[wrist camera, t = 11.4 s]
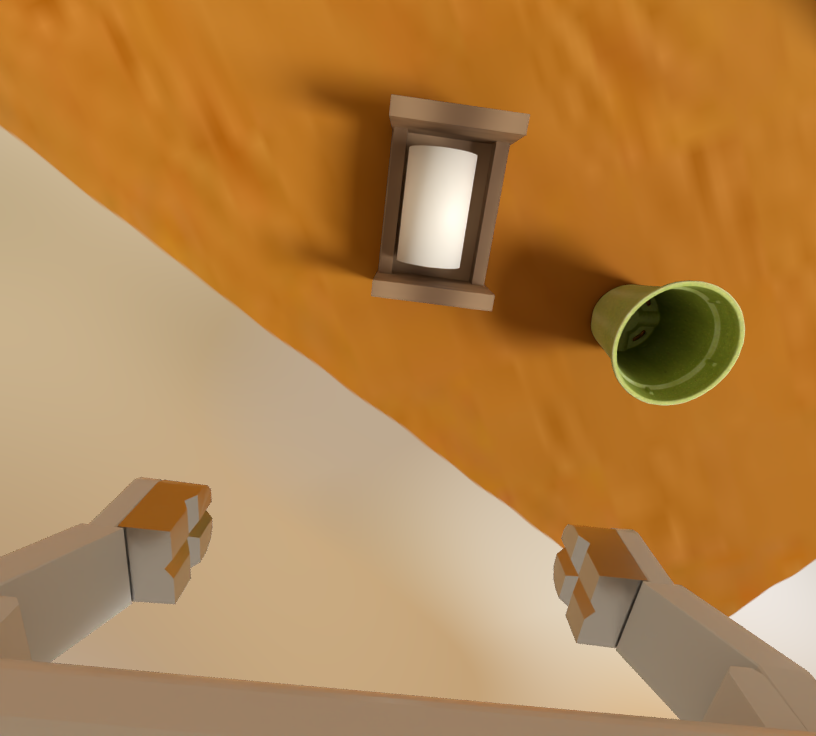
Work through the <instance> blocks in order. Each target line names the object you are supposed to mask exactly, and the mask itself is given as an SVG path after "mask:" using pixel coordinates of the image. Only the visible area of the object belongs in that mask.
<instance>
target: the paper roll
mask: <svg viewBox="0 0 816 736" xmlns="http://www.w3.org/2000/svg"><path fill="white" fill-rule="evenodd" d="M476 163H477V155H476V154H474V153H471V152H467V151H463V150H458V149H453V148H447V147H439V146H425V145H415V146H410V147H409V155H408V163H407V172H406V181H405V190H404V199H403V207H402V216H401V225H400V234H399V243H398V251H397V260H398V261H401V262H404V263H408V264H413V265H419V266H423V267H430V268H444V269H457V268H460V262H461V255H462V249H463V243H464V237H465V231H466V224H467V218H468V212H469V206H470V200H471V194H472V187H473V181H474V175H475V169H476Z"/></svg>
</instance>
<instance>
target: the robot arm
mask: <svg viewBox="0 0 816 736" xmlns="http://www.w3.org/2000/svg"><path fill="white" fill-rule="evenodd" d="M211 502H212V499H211V489H210V488H209V486H208V485H201V484H192V483H185V482H178V481H170V480H161V479H152V478H143V477H140V478H137V479H135V480H133V481H132V482H131V483H130V484H129V486H127V487H126V488H125V489H124V490H123V491H122V492H121V493H120V494H119V495H118V496H117V497H116V498H115V499H114V500H113V501H112V502H111V503H110V504H109V505H108V506H107V507H106V508H105V509H104V510H103V511H102V512H101V513H100V514H99V515H98V516H96V517H95V518H94V519H93V521H92V522H90V523H89V524H79V525H76V526H74V527H71V528H69V529H67V530H64V531H62V532H59V533H57V534H54V535H52V536H50V537H47V538H45V539H43V540H40V541H38V542H35V543H33V544H30V545H28V546H26V547H23V548H21V549H18V550H16V551H13V552H11V553H9V554H6V555H4V556H2V557H0V736H816V680H815V679H814V677H813V676H812V675H811V674H810V673H809V672H807V670H805V669H804V668H802V667H801V666H799V665H798V664H796V663H795V662H793V661H792V660H790V659H789V658H788V657H786V656H785V655H783V654H782V653H780V652H779V651H777V650H776V649H774V648H773V647H771V646H770V645H768V644H767V643H765V642H764V641H763V640H761V639H760V638H758V637H757V636H755V635H754V634H752V633H751V632H749V631H748V630H746V629H745V628H743V627H742V626H740V625H739V624H738V623H736V622H735V621H733V620H732V619H730V618H729V617H727V616H726V615H724V614H723V613H721V612H720V611H718V610H717V609H716V608H714V607H713V606H711V605H710V604H708V603H707V602H705V601H704V600H702V599H701V598H699V597H698V596H696V595H695V594H694V593H692V592H691V591H689V590H688V589H686V588H685V587H683V586H682V585H675V584H674V583H673V582H672V580H671V579H670V578H669V576H668V575H667V573H666V572H665V571H664V569H663V568H662V566H661V565H660V564H659V562H658V561H657V559H656V558H655V556H654V555H653V554H652V552H651V551H650V549H649V548H648V547H647V545H646V544H645V542H644V541H643V540H642V538H641V537H640V535H639V534H638V533H637V532H635V531H634V530H630V529H618V528H610V529H608V528H598V527H589V526H579V525H569V524H568V525H567V526H566V528H565V529H564V532H563V535H562V538H561V539H562V541H563V543H564V545H565V548H564V549H562V550H561V551H560V552H559V553H557V555H556V559H555V563H554V583H555V588H556V591H557V594H558V597H559V598H560V599H561V600H562V601H563V602H564V603H565V604H566V605H567V606H568V609H567V612H566V618H567V620H568V623H569V625H570V628H571V631H572V633H573V636H574V638H575V641H576V643H579V644H587V645H596V646H603V647H611V648H616V651H617V652H618V653H619V654H620V655H621V656H622V657H623V658H624V659H625V661H626V662H627V663H628V664H629V665H630V666H631V667H632V668H633V669H634V670H635V671H636V672H637V673H638V675H639V676H640V677H641V678H642V679H643V680H644V681H645V682H646V683H647V684H648V685H649V686H650V687H651V688H652V690H653V691H654V692H655V693H656V694H657V695H658V696H659V697H660V698H661V699H662V700H663V701H664V702H665V703H666V705H667V706H668V707H669V708H670V709H671V710H672V711H673V712H674V713H675V714H676V715H677V717H678V718H679V719H680V720H677V719H667V718H656V717H644V716H633V715H622V714H610V713H598V712H587V711H577V710H566V709H555V708H545V707H534V706H523V705H512V704H500V703H491V702H479V701H469V700H458V699H447V698H436V697H424V696H414V695H403V694H390V693H380V692H370V691H358V690H348V689H337V688H325V687H314V686H303V685H291V684H281V683H269V682H259V681H248V680H237V679H226V678H215V677H204V676H192V675H181V674H171V673H159V672H149V671H138V670H126V669H115V668H104V667H94V666H83V665H72V664H61V663H50V662H52V661H53V660H54V659H56V658H57V657H59V656H60V655H61V654H63V653H64V652H66V651H67V650H68V649H70V648H71V647H73V646H74V645H75V644H77V643H78V642H79V641H81V640H82V639H84V638H85V637H86V636H88V635H89V634H91V633H92V632H93V631H95V630H96V629H97V628H99V627H100V626H102V625H103V624H104V623H106V622H107V621H109V620H110V619H111V618H113V617H114V616H115V615H117V614H118V613H120V612H121V611H122V610H124V609H125V608H127V607H128V606H129V605H130V604H132V601H134V602H149V603H164V604H176V602H177V600H178V599H179V597H180V595H181V594H182V592H183V591H184V589H185V587H186V586H187V584H188V582H189V581H190V579H191V569H190V568H191V567H193V566H195V565H196V564H198V563H200V562H201V560H202V558H203V557H204V555H205V553H206V551H207V548H208V545H209V542H210V539H211V534H212V517H211V516H210V515H209V513H208V512H207V511H206V509H207V508H208V506H209V505H210V503H211Z"/></svg>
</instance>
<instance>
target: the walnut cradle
mask: <svg viewBox="0 0 816 736" xmlns="http://www.w3.org/2000/svg"><path fill="white" fill-rule="evenodd" d="M389 117H390V121H391V126H392V130H393V131H392V141H391V151H390V160H389V170H388V180H387V190H386V200H385V209H384V219H383V229H382V239H381V248H380V258H379V268H378V271H377V273H376V275H375V277H374V279H373V283H372V294H371V296H374V297H382V298H390V299H398V300H406V301H414V302H422V303H429V304H437V305H445V306H453V307H461V308H469V309H477V310H485V311H492V308H493V303H494V298H495V295H494V294H493V293H492V292H491V291H490V290H489V289H488V288H487V287H486V286H485V285H484V282H485V277H486V271H487V266H488V260H489V255H490V250H491V244H492V239H493V233H494V228H495V223H496V217H497V212H498V206H499V201H500V195H501V190H502V185H503V179H504V174H505V168H506V163H507V157H508V152H509V147H510V145H511V144H513V143H514V142H516V141H517V140H519V139H521V138H522V137H524V136H525V135H526V133H527V128H528V123H529V117H530V114H524V113H517V112H510V111H503V110H497V109H490V108H483V107H476V106H469V105H462V104H455V103H448V102H441V101H434V100H427V99H420V98H413V97H406V96H399V95H393V94H391V102H390V112H389ZM415 145H425V146H439V147H447V148H453V149H458V150H463V151H467V152H471V153H474V154H476V155H477V163H476V169H475V175H474V181H473V187H472V194H471V200H470V206H469V212H468V218H467V224H466V231H465V237H464V243H463V249H462V255H461V262H460V268H457V269H444V268H430V267H423V266H419V265H413V264H408V263H404V262H401V261H398V260H397V251H398V243H399V234H400V225H401V216H402V207H403V199H404V190H405V181H406V172H407V163H408V155H409V147H410V146H415Z"/></svg>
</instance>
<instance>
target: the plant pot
mask: <svg viewBox="0 0 816 736" xmlns="http://www.w3.org/2000/svg"><path fill="white" fill-rule="evenodd" d="M648 300H650V302H651V303H650V306H648V305H647V303H646V301H648ZM591 330H592V333H593V336H594V338H595V339H596V340H597V342H598V343H599V344H600V346H601V347H602V348H603V349H604V350H605V352H606V353H607V354H608V356H609V357H610V358H611V362H612V367H613V371H614V374H615V376H616V378H617V380H618V381H619V383H620V384H621V386H622V387H623V388H624V389H625V390H626V391H627V392H628V393H629V394H631V395H632V396H633V397H635V398H637V399H639V400H641V401H643V402H646V403H649V404H655V405H675V404H680V403H684V402H687V401H690V400H693V399H695V398H697V397H699V396H701V395H703V394H705V393H706V392H707V391H709V390H711V389H712V388H713V387H715V386H716V385H717V384H718V383H719V382H720V381H721V380H722V379H723V378H724V377H725V376H726V375H727V374H728V373H729V371H730V370H731V368H732V367H733V365H734V364H735V362H736V360H737V358H738V356H739V354H740V351H741V348H742V346H743V343H744V336H745V325H744V318H743V314H742V311H741V309H740V307H739V305H738V304H737V302H736V301H735V300H734V298H733V297H732V296H731V295H730V294H729V293H728V292H726V291H725V290H723V289H722V288H720V287H718V286H716V285H713V284H710V283H706V282H701V281H679V282H674V283H670V284H667V285H664V286H661V287H659V286H644V285H623V286H619V287H616V288H614V289H612V290H610V291H609V292H607V293H606V294H605V295H604V296H602V297H601V299H600V300H599V301H598V302H597V304H596V306H595V307H594V310H593V315H592V321H591ZM643 330H645V333H644V335H643V336H642V337H641V338H639V339H638V340H635V341H633V340H632V339H633V338H634V337H636V336H637V335H639V334H640V333H641V332H642V331H643Z"/></svg>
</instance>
